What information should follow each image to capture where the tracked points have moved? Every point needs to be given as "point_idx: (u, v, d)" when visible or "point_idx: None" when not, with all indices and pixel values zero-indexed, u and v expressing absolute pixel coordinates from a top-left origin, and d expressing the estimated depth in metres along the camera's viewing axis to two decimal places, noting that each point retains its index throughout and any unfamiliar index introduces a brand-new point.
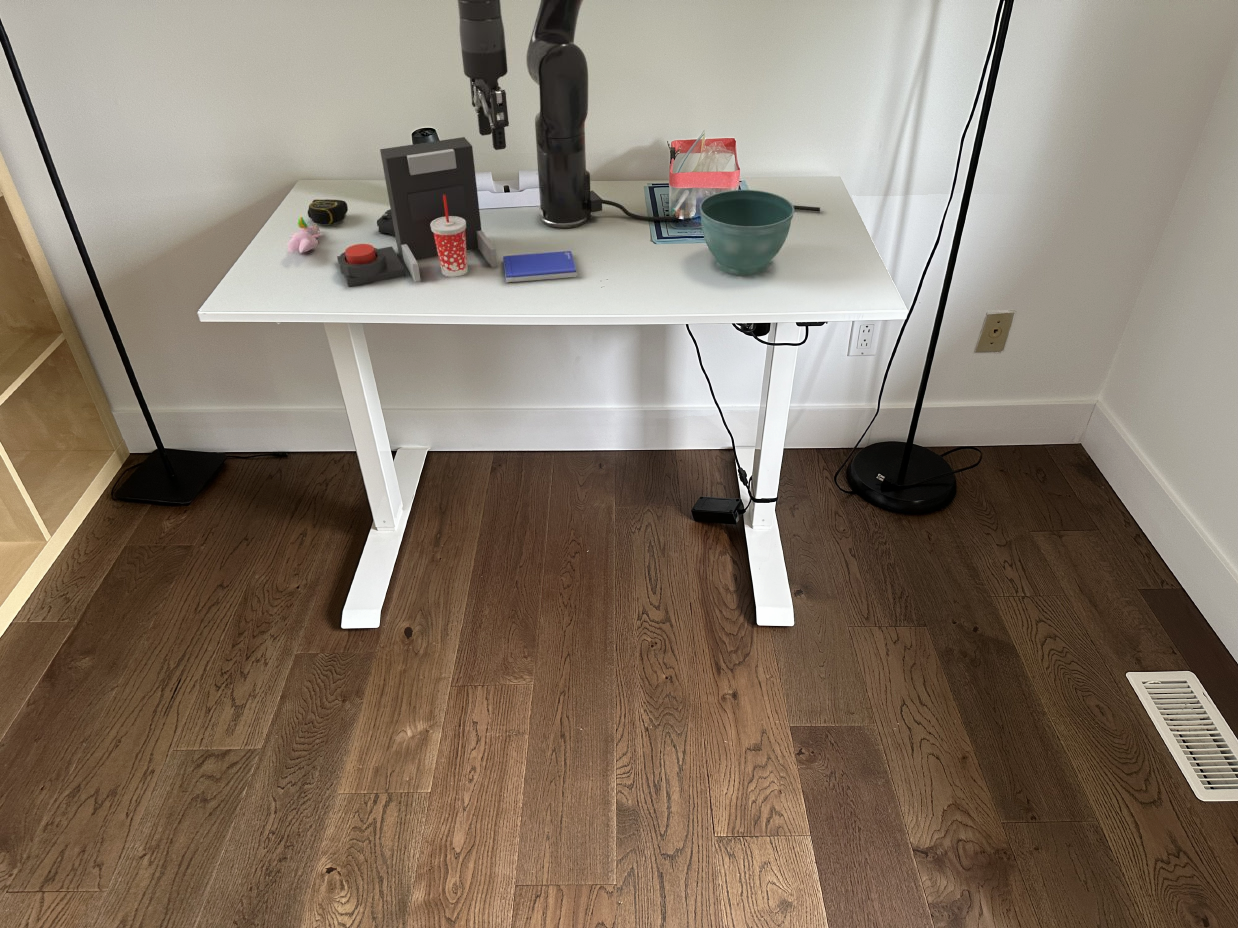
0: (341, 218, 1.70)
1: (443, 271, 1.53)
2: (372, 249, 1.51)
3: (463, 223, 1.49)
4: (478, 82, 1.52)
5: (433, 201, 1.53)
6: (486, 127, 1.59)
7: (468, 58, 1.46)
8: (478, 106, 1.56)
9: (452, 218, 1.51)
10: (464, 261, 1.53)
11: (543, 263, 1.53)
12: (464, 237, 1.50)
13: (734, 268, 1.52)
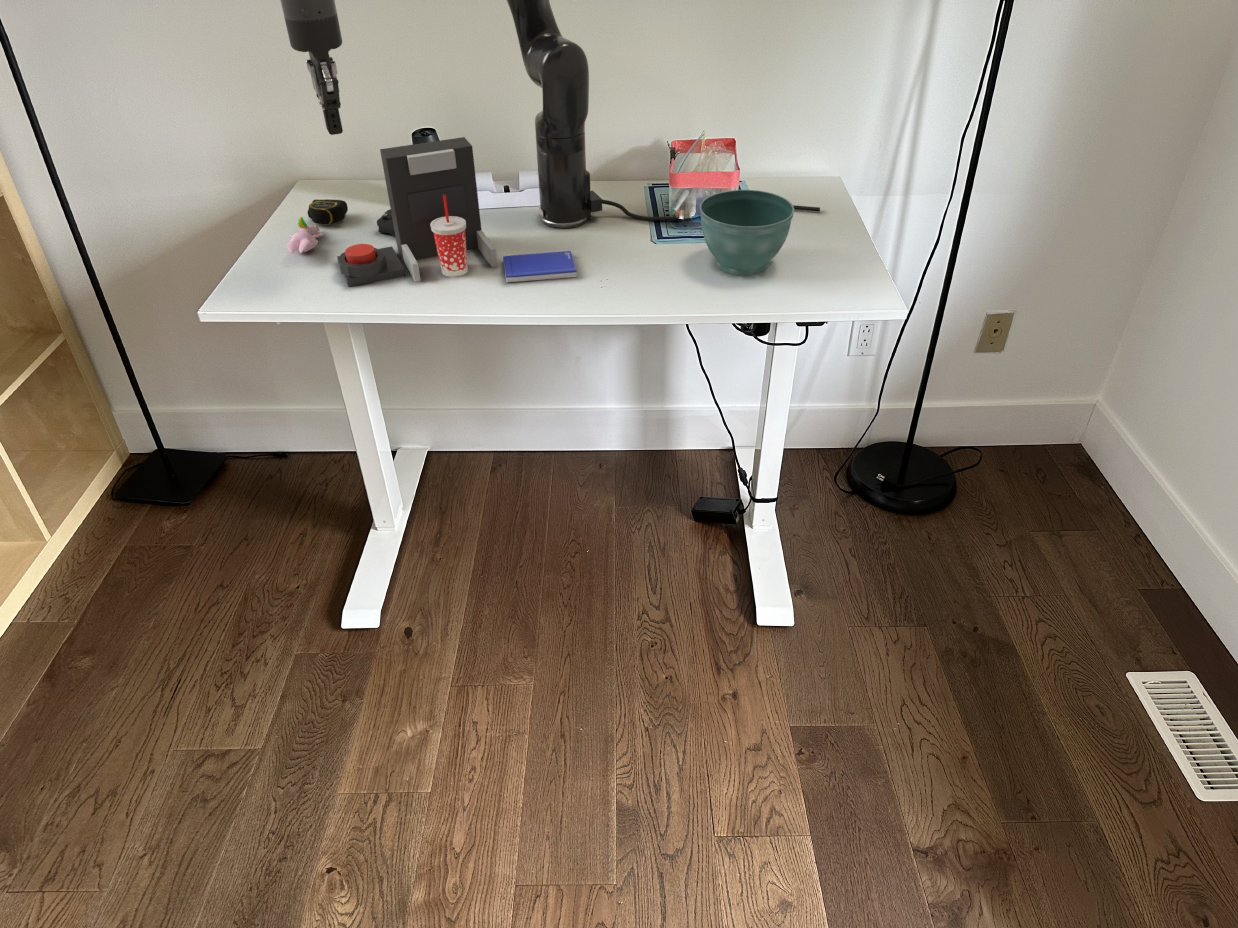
0: (341, 218, 1.70)
1: (443, 271, 1.53)
2: (372, 249, 1.51)
3: (463, 223, 1.49)
4: (310, 56, 1.32)
5: (433, 201, 1.53)
6: None
7: (291, 27, 1.26)
8: None
9: (452, 218, 1.51)
10: (464, 261, 1.53)
11: (543, 263, 1.53)
12: (464, 237, 1.50)
13: (734, 268, 1.52)
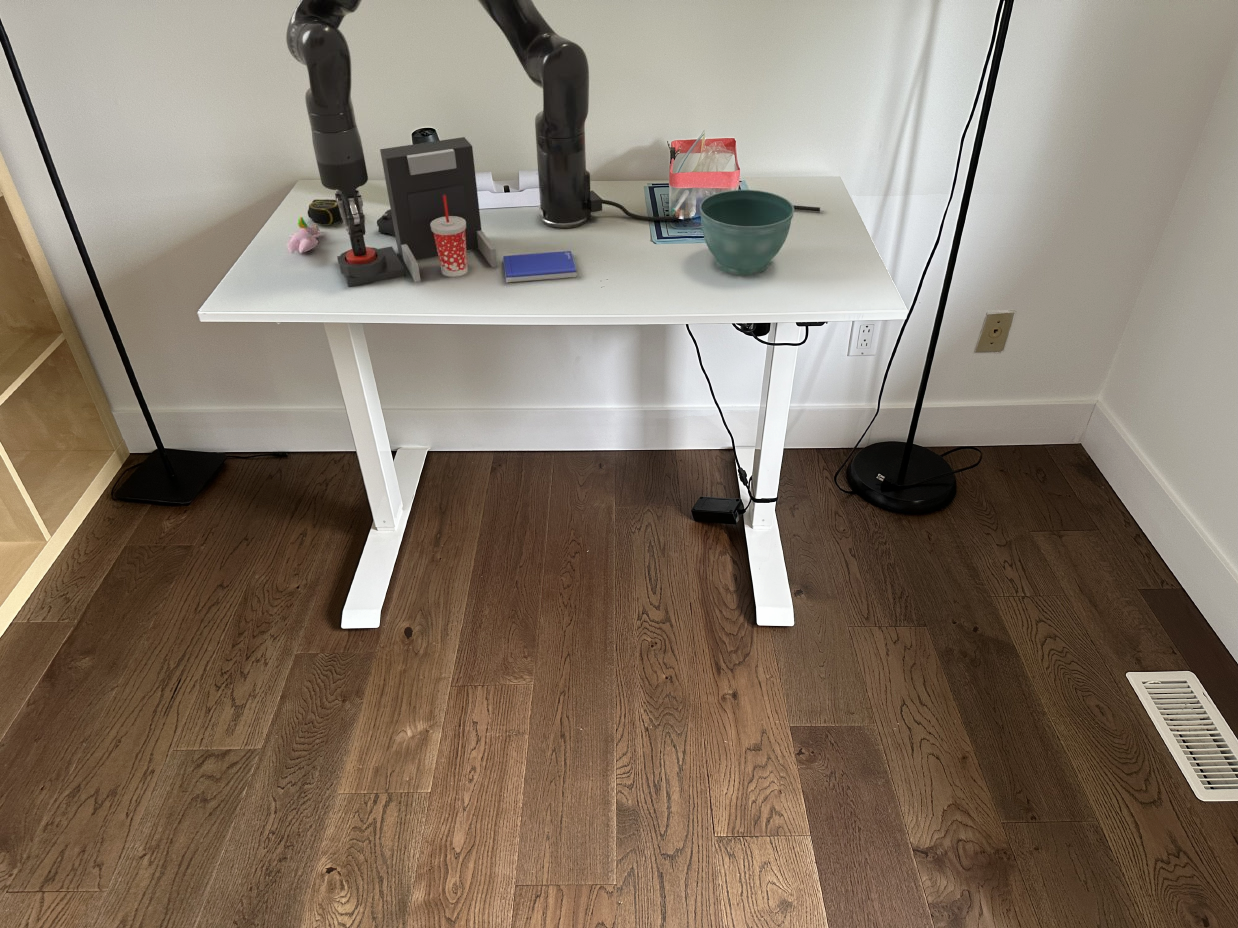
0: (341, 218, 1.70)
1: (443, 271, 1.53)
2: (373, 253, 1.51)
3: (463, 223, 1.49)
4: (339, 189, 1.45)
5: (433, 201, 1.53)
6: None
7: (322, 169, 1.39)
8: None
9: (452, 218, 1.51)
10: (464, 261, 1.53)
11: (543, 263, 1.53)
12: (464, 237, 1.50)
13: (734, 268, 1.52)
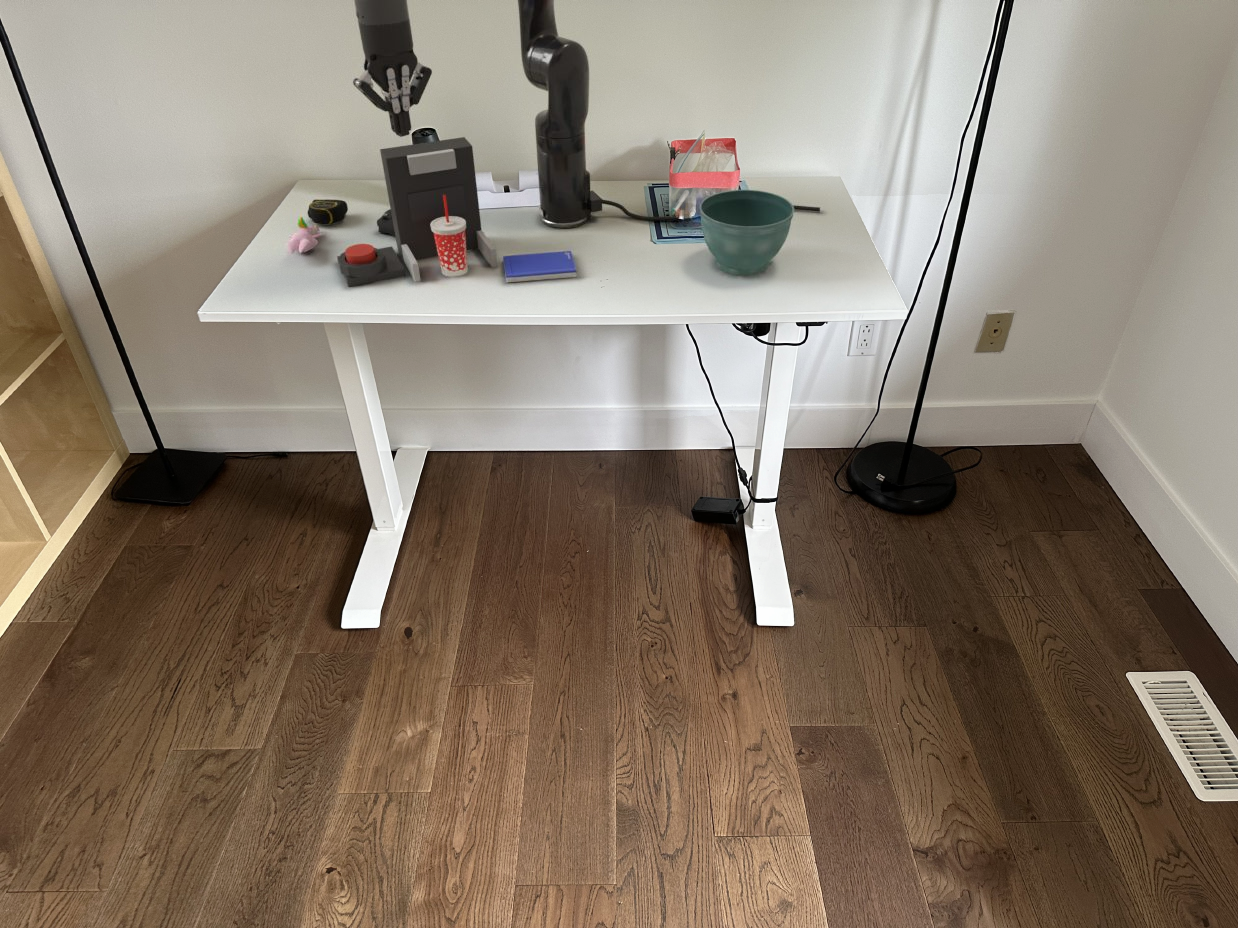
0: (341, 218, 1.70)
1: (443, 271, 1.53)
2: (372, 249, 1.51)
3: (463, 223, 1.49)
4: None
5: (433, 201, 1.53)
6: None
7: None
8: None
9: (452, 218, 1.51)
10: (464, 261, 1.53)
11: (543, 263, 1.53)
12: (464, 237, 1.50)
13: (734, 268, 1.52)
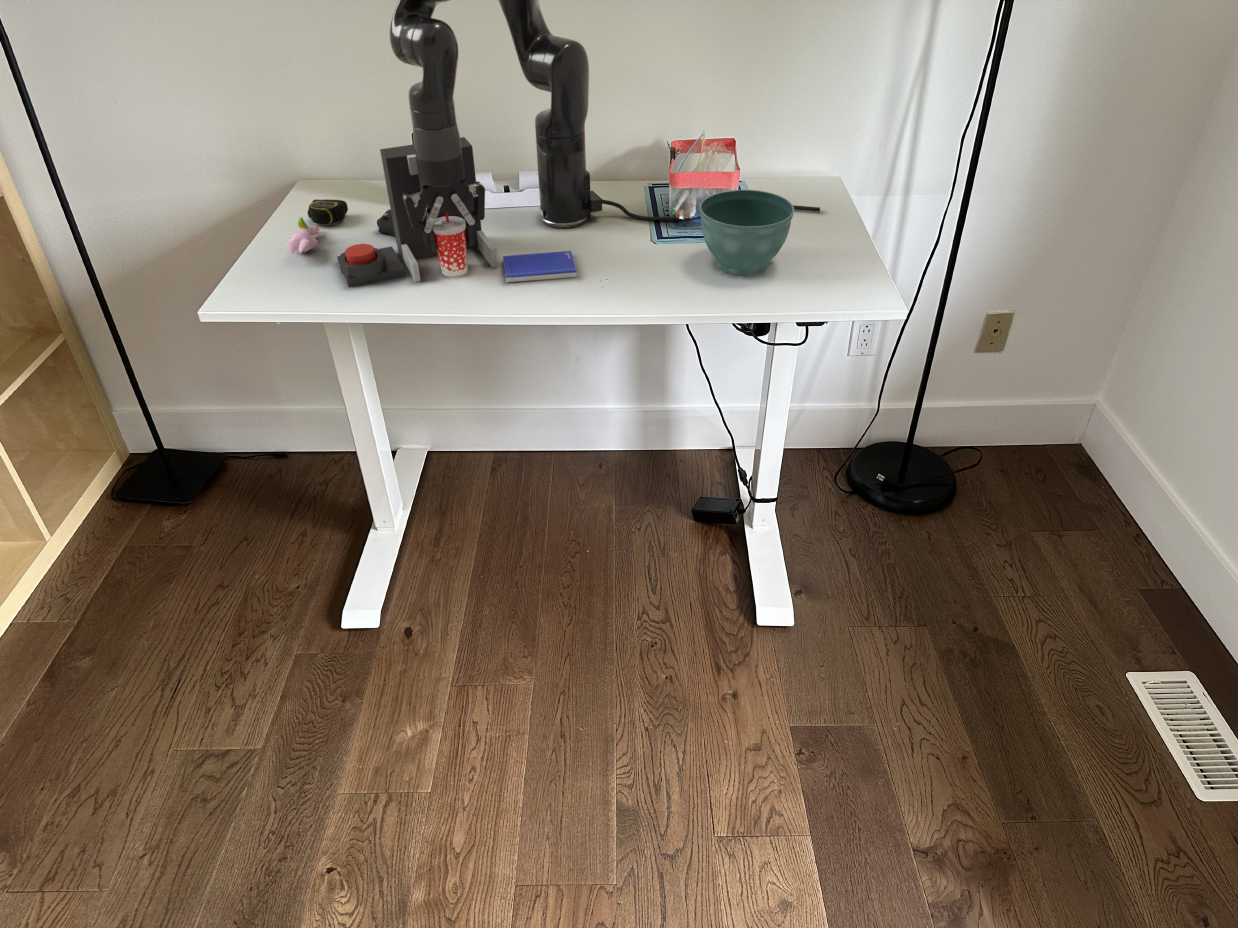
0: (341, 218, 1.70)
1: (443, 271, 1.53)
2: (372, 249, 1.51)
3: (463, 223, 1.49)
4: None
5: None
6: (467, 237, 1.52)
7: None
8: None
9: (452, 218, 1.51)
10: (464, 261, 1.53)
11: (543, 263, 1.53)
12: (463, 237, 1.50)
13: (734, 268, 1.52)
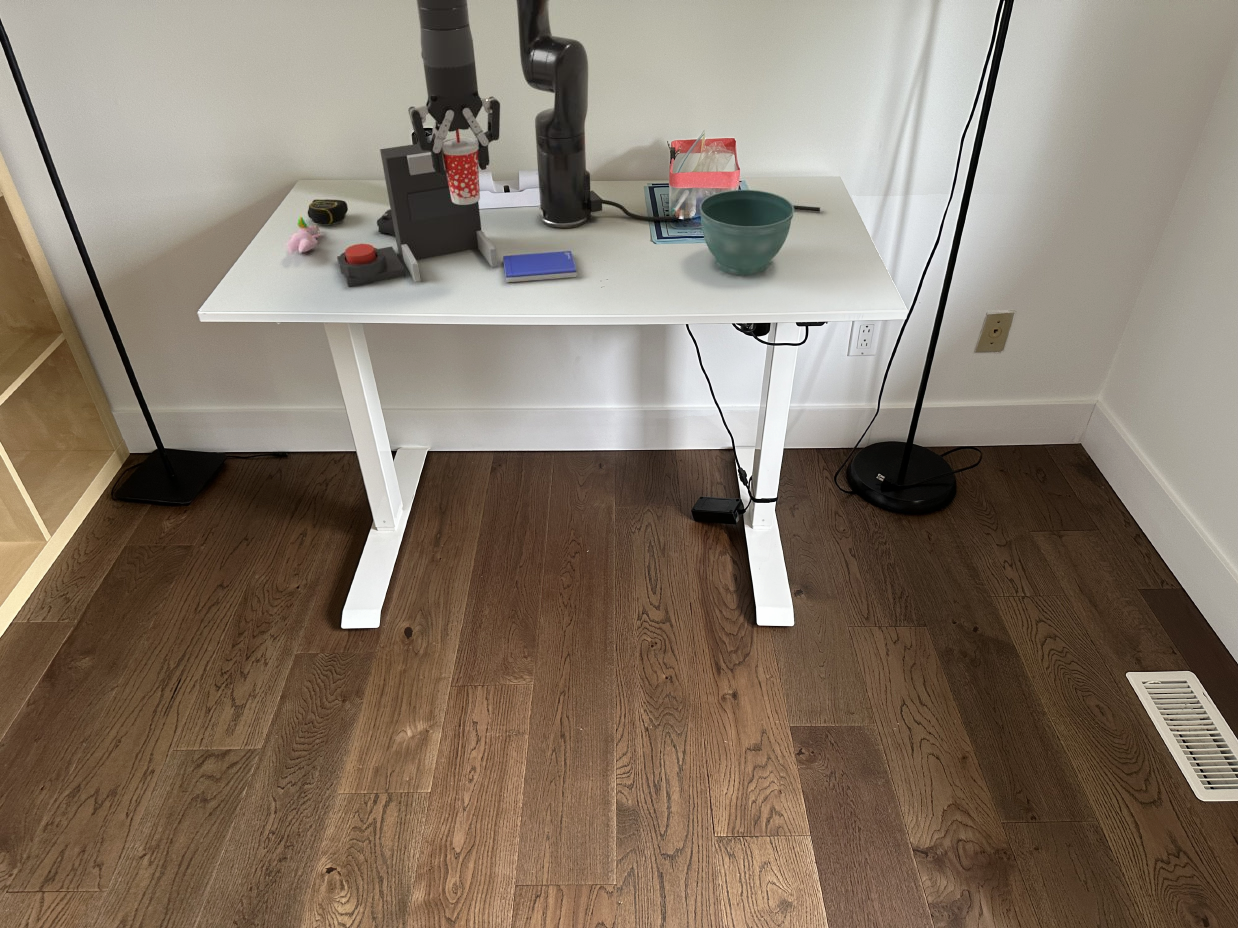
0: (341, 218, 1.70)
1: (453, 199, 1.39)
2: (372, 249, 1.51)
3: (475, 143, 1.35)
4: None
5: (433, 201, 1.53)
6: (480, 160, 1.37)
7: None
8: (472, 130, 1.35)
9: (463, 139, 1.36)
10: (476, 187, 1.38)
11: (543, 263, 1.53)
12: (476, 159, 1.35)
13: (734, 268, 1.52)
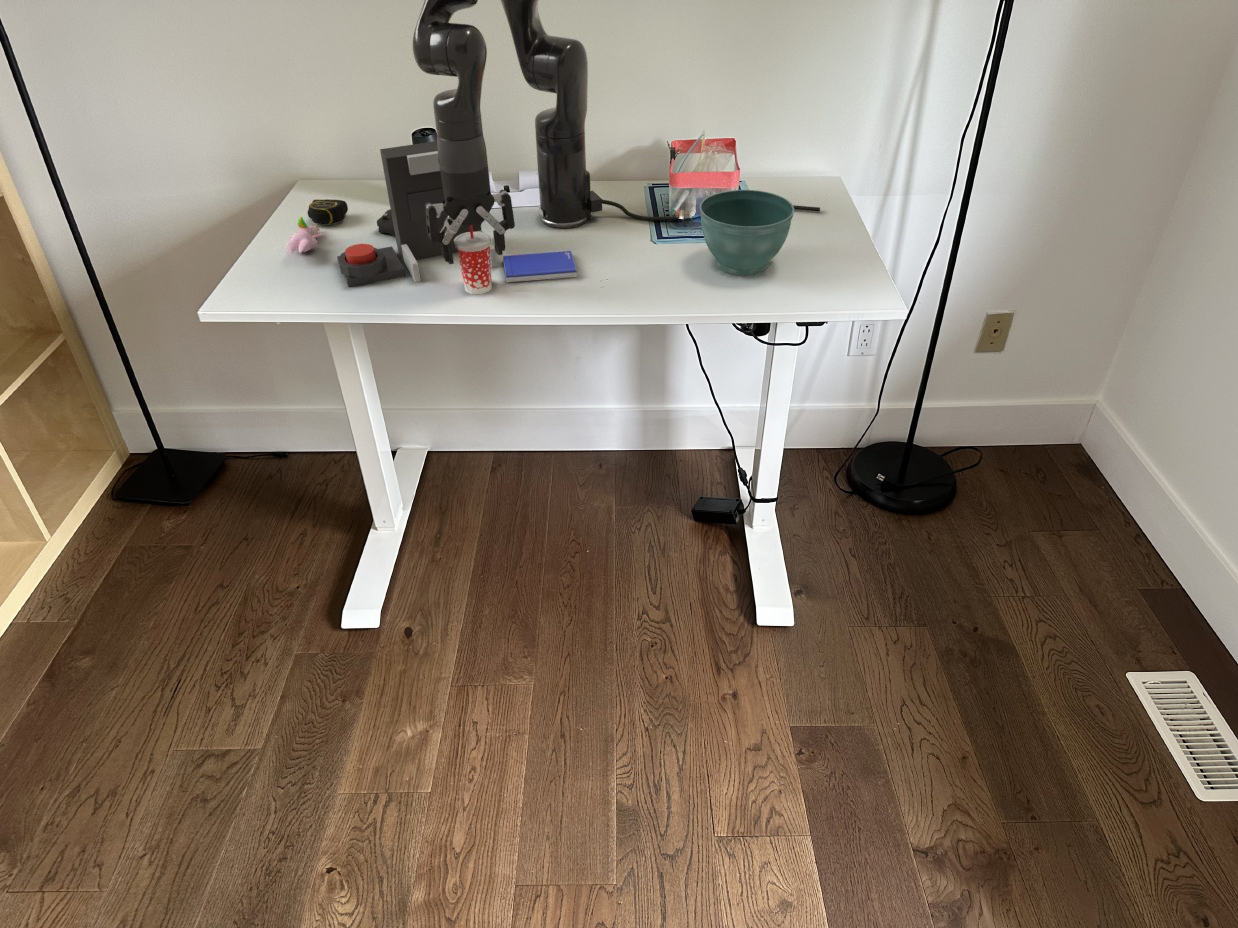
0: (341, 218, 1.70)
1: (466, 288, 1.48)
2: (372, 249, 1.51)
3: (488, 239, 1.44)
4: None
5: (433, 201, 1.53)
6: (496, 246, 1.46)
7: None
8: None
9: (476, 234, 1.46)
10: (489, 278, 1.48)
11: (543, 263, 1.53)
12: (488, 254, 1.45)
13: (734, 268, 1.52)
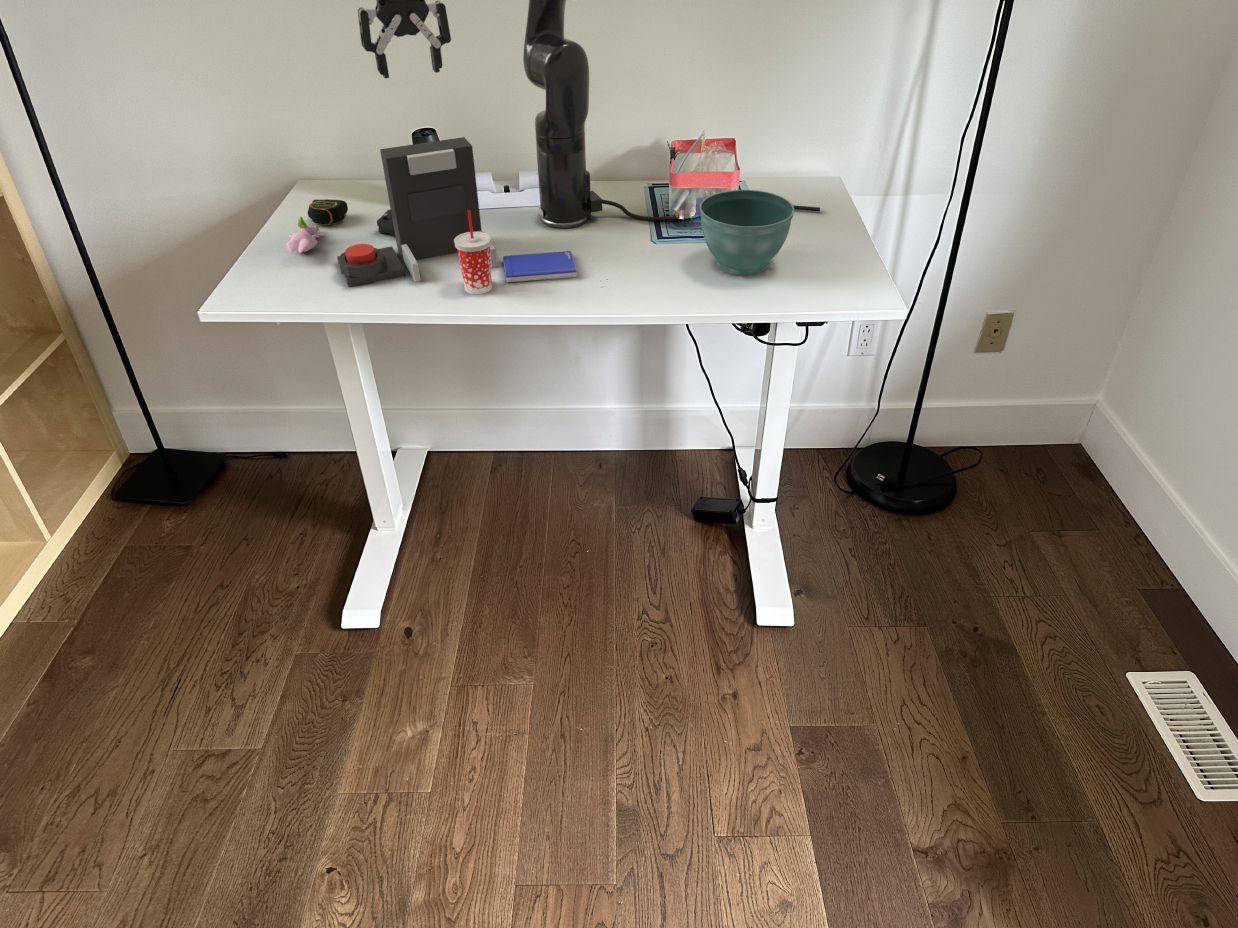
0: (341, 218, 1.70)
1: (466, 288, 1.48)
2: (372, 249, 1.51)
3: (488, 239, 1.44)
4: None
5: (433, 201, 1.53)
6: (433, 63, 1.45)
7: None
8: None
9: (476, 234, 1.46)
10: (489, 278, 1.48)
11: (543, 263, 1.53)
12: (488, 253, 1.45)
13: (734, 268, 1.52)
